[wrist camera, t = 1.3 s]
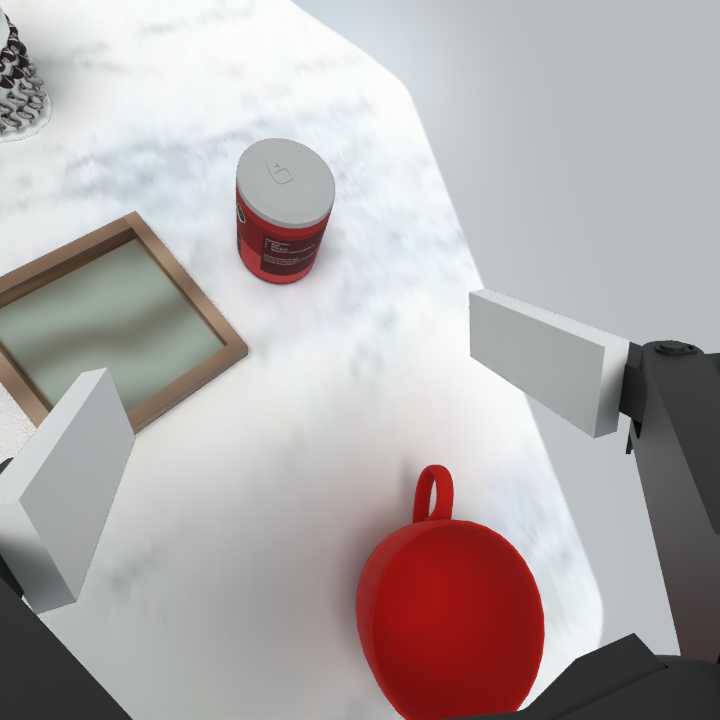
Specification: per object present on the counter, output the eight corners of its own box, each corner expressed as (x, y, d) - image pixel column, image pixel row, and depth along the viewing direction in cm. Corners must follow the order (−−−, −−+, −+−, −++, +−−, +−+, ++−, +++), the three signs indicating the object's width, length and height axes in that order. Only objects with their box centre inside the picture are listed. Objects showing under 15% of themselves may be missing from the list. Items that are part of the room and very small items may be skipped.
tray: (-40, 317, 34) (-60, 306, 32) (141, 225, 40) (135, 210, 38) (81, 471, 33) (70, 470, 31) (247, 354, 39) (247, 346, 37)
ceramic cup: (464, 468, 42) (527, 463, 33) (478, 666, 37) (557, 726, 28) (337, 467, 39) (367, 461, 29) (334, 684, 34) (370, 758, 25)
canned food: (269, 204, 44) (277, 120, 34) (329, 251, 45) (355, 182, 35) (219, 251, 41) (212, 175, 31) (284, 301, 42) (298, 242, 32)
